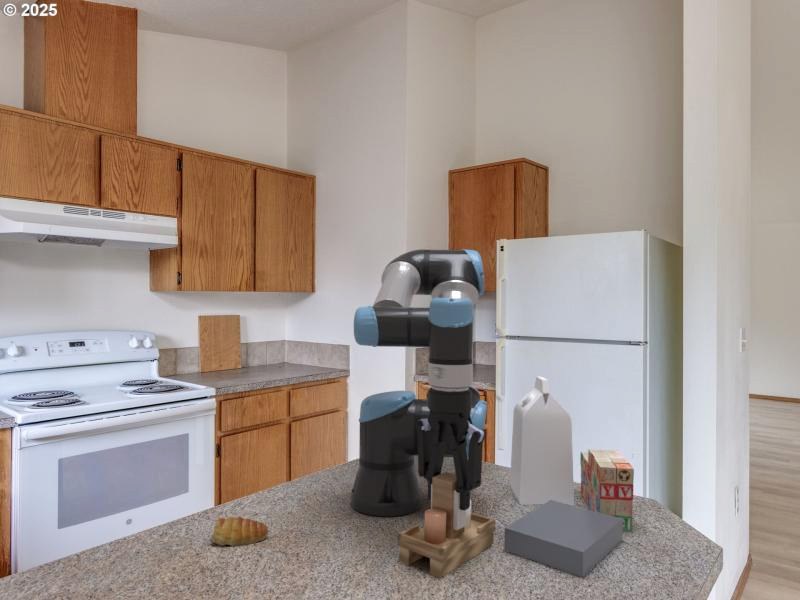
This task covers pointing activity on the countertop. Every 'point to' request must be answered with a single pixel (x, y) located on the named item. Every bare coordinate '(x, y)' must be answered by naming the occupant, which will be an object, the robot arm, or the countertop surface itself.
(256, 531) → the pastry
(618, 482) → the stack of blocks
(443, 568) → the carrier tray
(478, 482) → the robot arm
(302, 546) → the countertop surface
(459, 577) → the countertop surface
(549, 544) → the dock
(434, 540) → the brown egg
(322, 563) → the countertop surface
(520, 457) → the milk
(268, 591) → the countertop surface
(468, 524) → the white egg
